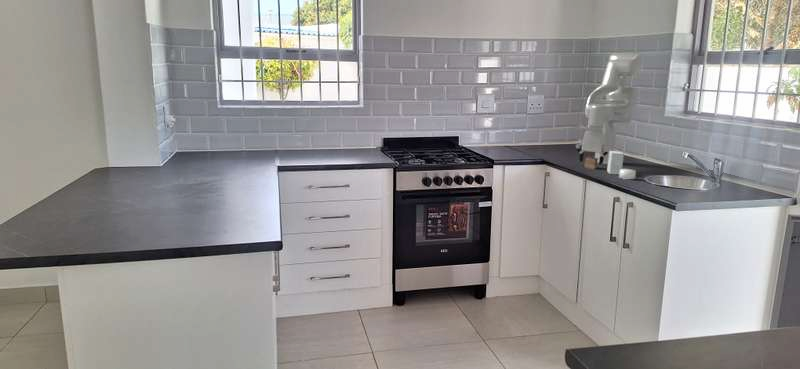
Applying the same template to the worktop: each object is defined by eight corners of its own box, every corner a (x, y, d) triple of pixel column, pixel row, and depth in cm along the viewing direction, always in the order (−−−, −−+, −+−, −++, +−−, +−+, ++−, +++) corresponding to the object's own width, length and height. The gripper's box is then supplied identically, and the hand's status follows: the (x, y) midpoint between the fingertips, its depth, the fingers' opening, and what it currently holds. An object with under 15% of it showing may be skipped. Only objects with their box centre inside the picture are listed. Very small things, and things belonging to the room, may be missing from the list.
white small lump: (620, 176, 271) (621, 168, 270) (636, 178, 267) (637, 170, 267) (617, 178, 265) (618, 170, 264) (633, 180, 262) (634, 172, 261)
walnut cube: (587, 166, 293) (588, 157, 292) (596, 167, 290) (598, 158, 289) (584, 167, 289) (585, 158, 288) (594, 169, 286) (595, 159, 285)
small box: (621, 175, 274) (624, 153, 271) (609, 174, 275) (612, 152, 272) (618, 172, 281) (621, 151, 279) (606, 171, 282) (609, 150, 280)
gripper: (576, 128, 287) (571, 161, 290) (611, 131, 278) (606, 165, 281) (580, 127, 293) (576, 159, 296) (614, 131, 284) (609, 164, 287)
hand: (590, 162), depth 289 cm, fingers open, 9 cm apart
